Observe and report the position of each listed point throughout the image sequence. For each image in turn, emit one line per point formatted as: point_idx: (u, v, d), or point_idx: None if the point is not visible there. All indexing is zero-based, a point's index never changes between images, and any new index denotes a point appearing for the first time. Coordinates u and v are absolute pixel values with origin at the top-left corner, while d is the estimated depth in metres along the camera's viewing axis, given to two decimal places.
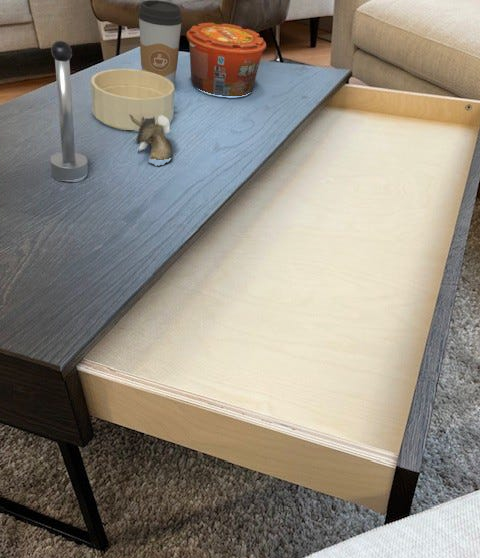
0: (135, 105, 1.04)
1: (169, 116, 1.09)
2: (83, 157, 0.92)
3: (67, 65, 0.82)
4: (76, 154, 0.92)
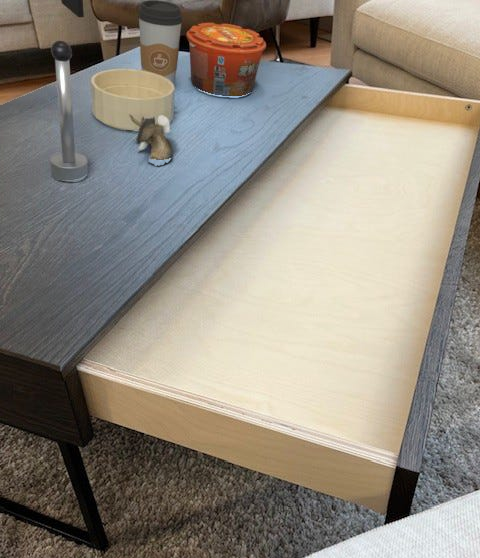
0: (135, 105, 1.04)
1: (169, 116, 1.09)
2: (83, 157, 0.92)
3: (67, 65, 0.82)
4: (76, 154, 0.92)
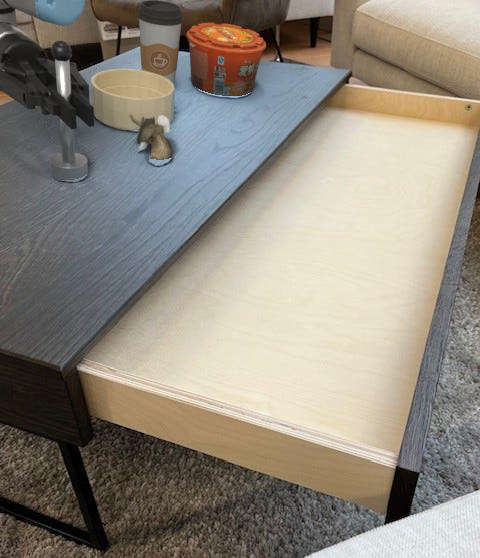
0: (135, 105, 1.04)
1: (169, 116, 1.09)
2: (83, 157, 0.92)
3: (67, 65, 0.82)
4: (76, 154, 0.92)
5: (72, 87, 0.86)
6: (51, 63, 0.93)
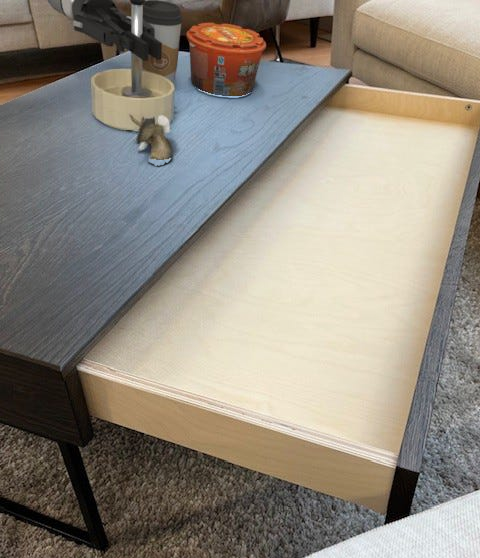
0: (135, 105, 1.04)
1: (169, 116, 1.09)
2: (147, 90, 1.12)
3: (141, 9, 1.02)
4: (141, 87, 1.12)
5: (142, 29, 1.06)
6: (121, 13, 1.13)
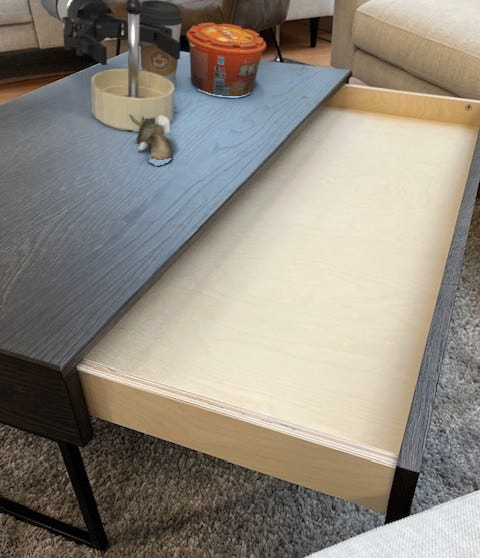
0: (135, 105, 1.04)
1: (169, 116, 1.09)
2: None
3: (138, 18, 1.01)
4: (138, 96, 1.11)
5: (162, 30, 1.09)
6: None
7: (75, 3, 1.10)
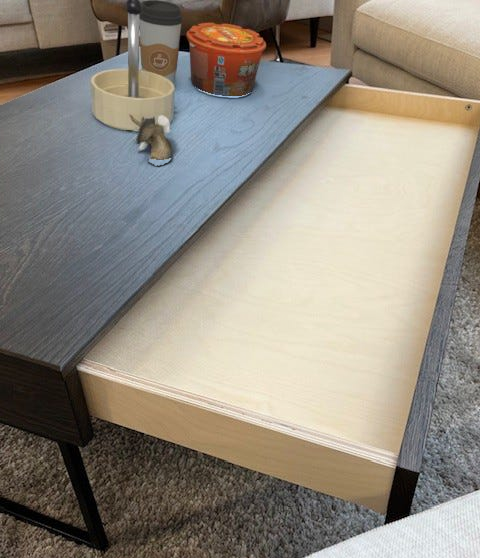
0: (135, 105, 1.04)
1: (169, 116, 1.09)
2: None
3: (138, 18, 1.01)
4: (138, 96, 1.11)
5: None
6: None
7: None
